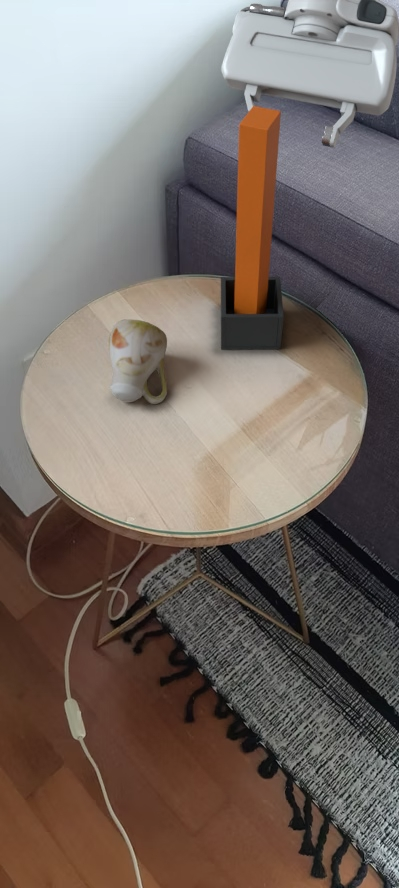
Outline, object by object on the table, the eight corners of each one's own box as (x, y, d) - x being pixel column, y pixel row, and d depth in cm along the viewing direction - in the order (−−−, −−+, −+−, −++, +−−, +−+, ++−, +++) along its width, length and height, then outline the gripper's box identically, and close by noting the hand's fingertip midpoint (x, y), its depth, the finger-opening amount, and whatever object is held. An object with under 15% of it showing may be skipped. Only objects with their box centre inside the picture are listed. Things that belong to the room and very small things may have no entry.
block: (265, 319, 92) (281, 110, 70) (255, 338, 90) (267, 129, 67) (244, 313, 93) (253, 105, 70) (233, 332, 90) (239, 124, 68)
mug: (97, 411, 84) (82, 331, 80) (131, 385, 92) (120, 311, 88) (153, 412, 81) (140, 329, 77) (183, 385, 89) (173, 309, 85)
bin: (277, 309, 94) (280, 276, 89) (280, 349, 89) (283, 316, 85) (220, 309, 94) (220, 276, 90) (220, 349, 89) (221, 317, 85)
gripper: (233, -13, 79) (201, 111, 81) (411, 13, 74) (371, 145, 76) (245, 14, 85) (215, 130, 87) (411, 40, 80) (374, 162, 82)
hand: (289, 137), depth 82 cm, fingers open, 8 cm apart
